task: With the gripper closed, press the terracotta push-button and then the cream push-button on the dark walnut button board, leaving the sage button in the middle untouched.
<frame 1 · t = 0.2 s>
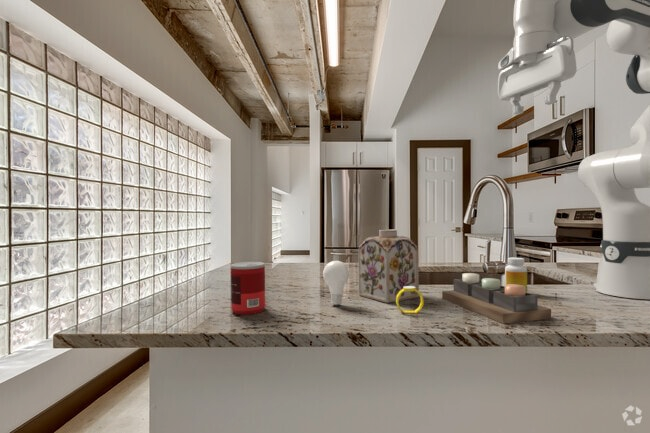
hand: (533, 109, 92), 47 cm above the countertop, fingers open, 8 cm apart
button board: (491, 307, 88), on the countertop
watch: (409, 313, 85), on the countertop
terracotta button: (514, 292, 81), point 5 cm above the countertop, slide at 0.0 cm
supplement bottle: (516, 294, 102), on the countertop
canned food: (248, 311, 89), on the countertop
decorative jar: (388, 297, 101), on the countertop
cream button: (470, 280, 96), point 5 cm above the countertop, slide at 0.0 cm
lightbulb: (336, 306, 92), on the countertop
sage button: (491, 286, 88), point 5 cm above the countertop, slide at 0.0 cm
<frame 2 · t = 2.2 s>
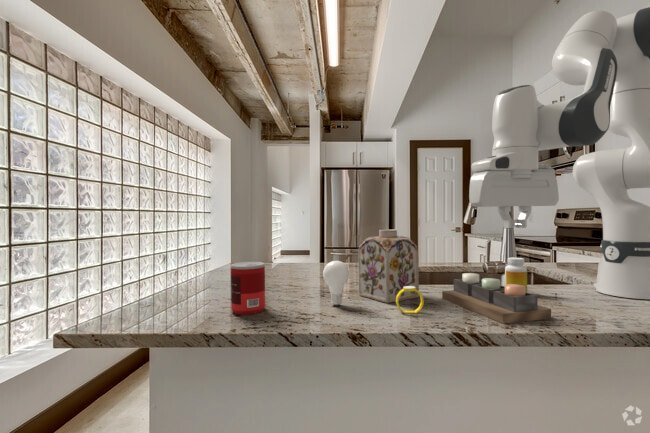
hand: (514, 227, 81), 19 cm above the countertop, fingers closed
nothing on the countertop moved.
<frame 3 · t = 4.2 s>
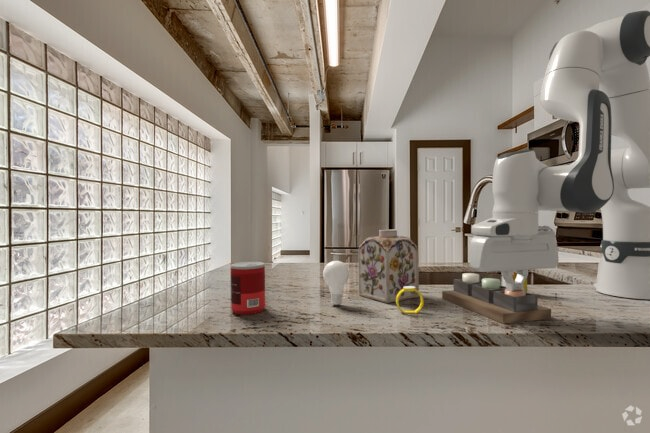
hand: (514, 290, 81), 6 cm above the countertop, fingers closed, pressing on terracotta button
terracotta button: (514, 297, 81), point 4 cm above the countertop, slide at 1.0 cm, touching gripper
everything else where it was.
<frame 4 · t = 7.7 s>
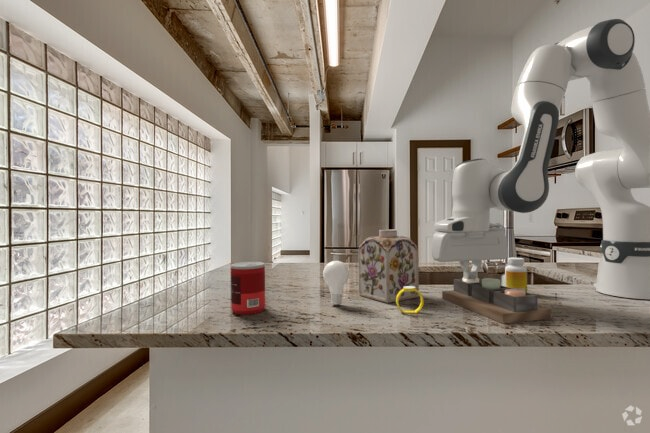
hand: (470, 278, 95), 6 cm above the countertop, fingers closed, pressing on cream button
terracotta button: (514, 298, 81), point 4 cm above the countertop, slide at 1.1 cm
cream button: (470, 284, 96), point 4 cm above the countertop, slide at 1.0 cm, touching gripper
everything else where it was.
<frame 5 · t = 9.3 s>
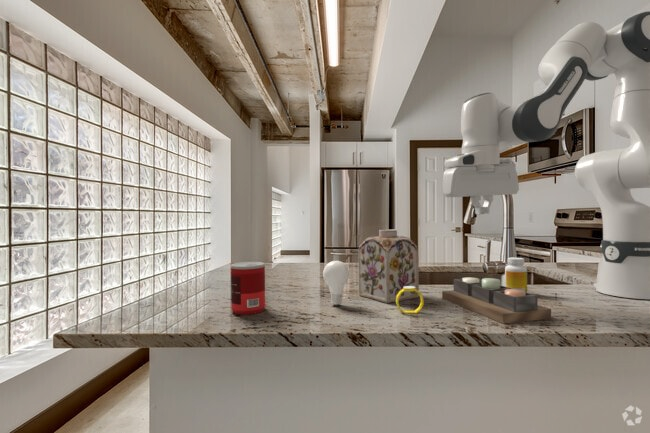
hand: (482, 214, 96), 22 cm above the countertop, fingers closed
cream button: (470, 284, 96), point 4 cm above the countertop, slide at 1.1 cm
everything else where it was.
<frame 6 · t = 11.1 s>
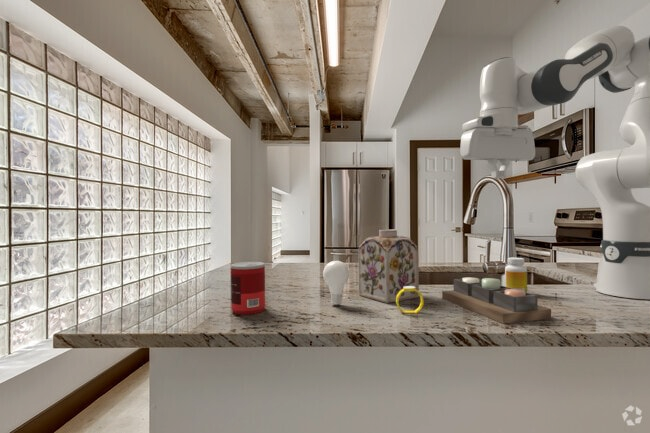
hand: (498, 177, 97), 31 cm above the countertop, fingers closed
nothing on the countertop moved.
at the end: terracotta button slide at 1.1 cm; cream button slide at 1.1 cm; sage button slide at 0.0 cm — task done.
